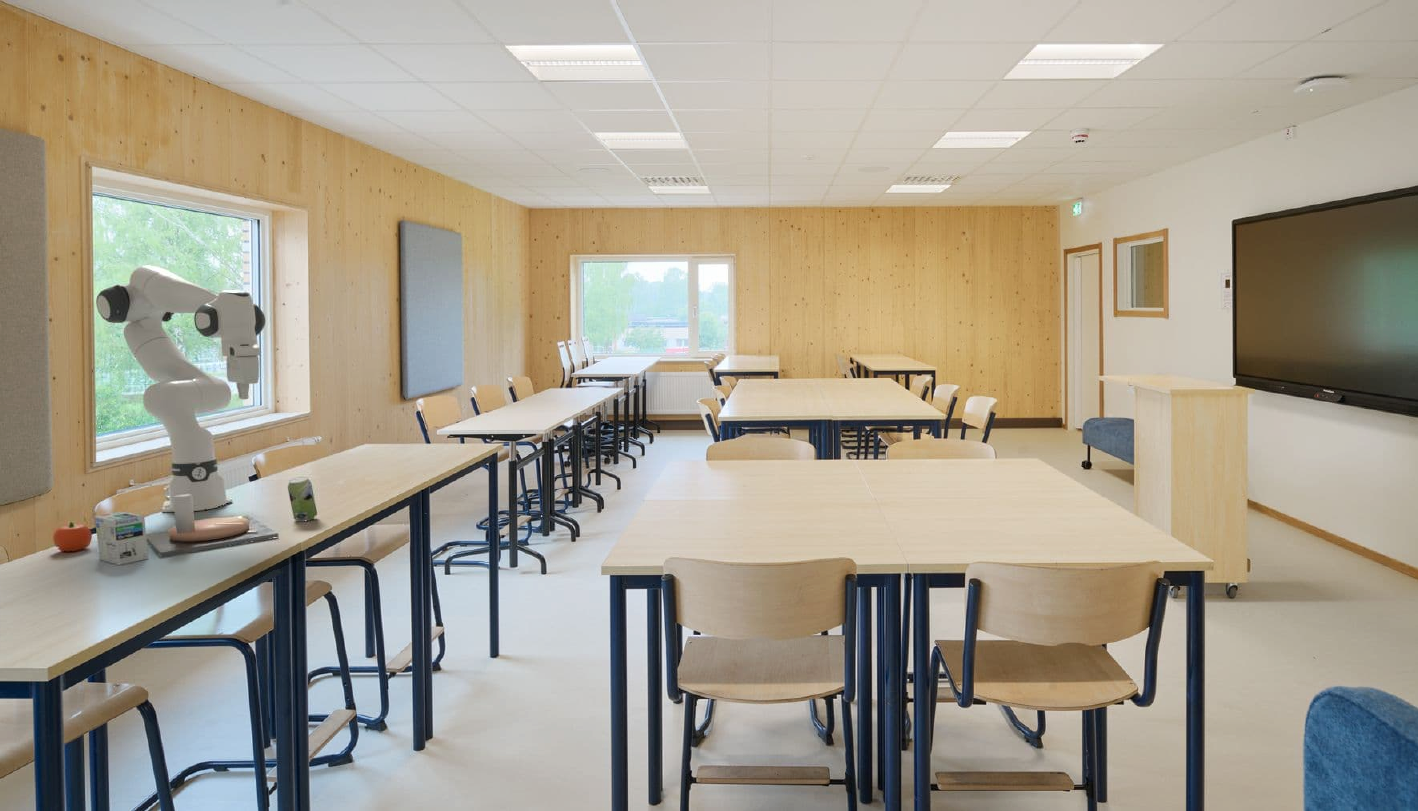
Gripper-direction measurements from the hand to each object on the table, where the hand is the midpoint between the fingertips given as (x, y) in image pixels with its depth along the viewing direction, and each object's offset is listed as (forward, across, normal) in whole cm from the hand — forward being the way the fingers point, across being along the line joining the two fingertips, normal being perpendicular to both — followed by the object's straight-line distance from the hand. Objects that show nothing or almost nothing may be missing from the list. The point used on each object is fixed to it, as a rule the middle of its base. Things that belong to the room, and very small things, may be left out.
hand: (243, 399), depth 250 cm
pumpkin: (+34, +4, -42) cm, 54 cm away
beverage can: (+34, +12, +10) cm, 38 cm away
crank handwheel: (+33, +16, -14) cm, 39 cm away
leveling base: (+34, +16, -14) cm, 40 cm away
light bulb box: (+34, +24, -34) cm, 54 cm away
